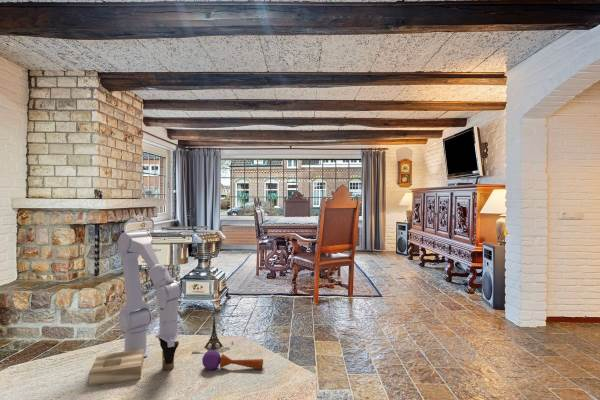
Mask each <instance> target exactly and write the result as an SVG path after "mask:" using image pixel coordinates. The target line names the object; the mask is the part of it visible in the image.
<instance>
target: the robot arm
mask: <svg viewBox="0 0 600 400" xmlns="http://www.w3.org/2000/svg"><path fill="white" fill-rule="evenodd" d="M153 241H154V239H153V237H152V234H151V233H150V232H149V231H148V230H143V231H132V232H131V231H130V232H125V231H124V232H122V233H121V234H120V235H119V237H118V239H117V248H118V254H119V255H118V256H120V257H121V260H122V261H121V263H122V270H123V271H122V272H123V281H124V289H125V297H126V299H125V300H126V304H125V305H124V306H123V307H122V308H121V309H120V310H119V319H118V325H119V329H121V331H122V332H124V347H123V348H124V350H123V352H125V351H133V350H141V349H144V354H143V358H145V357H146V358H147V356H148V352H149V345H148V344H147V342H148V341H147V336H148V335H147V334H148V333H147V331H148V330H147V329H149V327H150V324H151V323H152V320H153V314H152V313H153V312H152V311H151V307H150V304H149V303H148V302H146V301H145V300H143V292H142V286H141V285H142V283H141V275H140V266H139V265H140V264H139V260H138V259H139V258H140V257H139V256H141V258H142V259H143V261H144V262H145V265H147V267H148V268H149V272H148V275H149V277H150V280H151V281H152V283H153V285H154V286H155V290H156V292H155V296H156V300H157V305H158V308H159V323H158V324H159V325H158V326H159V329H158V330H159V331H158V333H155V335H154V336H155V338H156V339H158V341H159V342H160V343H159V346H160V348H161V350H162V351H163V353H164V359H165V364H172V363H173V359H174V360H175V354H176V351H177V348H178V347H179V344H180V343H179V342H180V341H176V339H177V338H178V336H179V331H178V330H179V299H180V298H181V297H182V294H183V288H182V285H181V283H180V282H179V281H176V280H175V279H173V277H172V276H171V273H169V270H168V269H167V267H166V265H164V264H161V263H160V261H159V259H158V256H157V254H156V253H155V250H154V247H153V243H154V242H153Z"/></svg>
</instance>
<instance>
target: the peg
mask: <svg viewBox="0 0 600 400" xmlns="http://www.w3.org/2000/svg"><path fill="white" fill-rule="evenodd" d="M161 352H162V357H161V359H162V362H161V363H162V364H161V368H162V371H166V372H167V371H172V370H174V369H175V358H174V359H173V363H172V364H165V359H164V353H163V350H162V351H161Z"/></svg>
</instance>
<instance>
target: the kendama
mask: <svg viewBox="0 0 600 400" xmlns="http://www.w3.org/2000/svg"><path fill="white" fill-rule="evenodd" d="M203 354H204V355H203V356H202V360H201V362H202V366H203V368H205V369H206V370H209V371H212V370H215V369H217V368H218V367H219V368H223V367H226V366H229V365H231V364H232V365H237V366H243V367H246V368H251V369H256V370H260V369H261V370H260V371H262V370H263V368H264V367H263V366H264V358H256V359H255V358H252V359H251V358H249V359H231V358H230V357H228V356H227V355H225V354H223V353H219V352H217V351H215V350H208V351H206V352H204V353H203ZM262 367H263V368H262Z"/></svg>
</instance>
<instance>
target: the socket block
mask: <svg viewBox="0 0 600 400" xmlns="http://www.w3.org/2000/svg"><path fill="white" fill-rule="evenodd" d="M143 354H144V349H141V350H133V351H125V352H124V351H119V352H110V353H102V354H97V355H96V358H95V360H94V362H93V364H92V366H91V369H90V370H89V373H88V375H89V378H88V383H89V384H88V387H94V386H101V385H107V384H113V383H120V382H128V381H134V380H139V379H140V380H141V379H142V373H143V372H142V371H143V366H144V357H143Z"/></svg>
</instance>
